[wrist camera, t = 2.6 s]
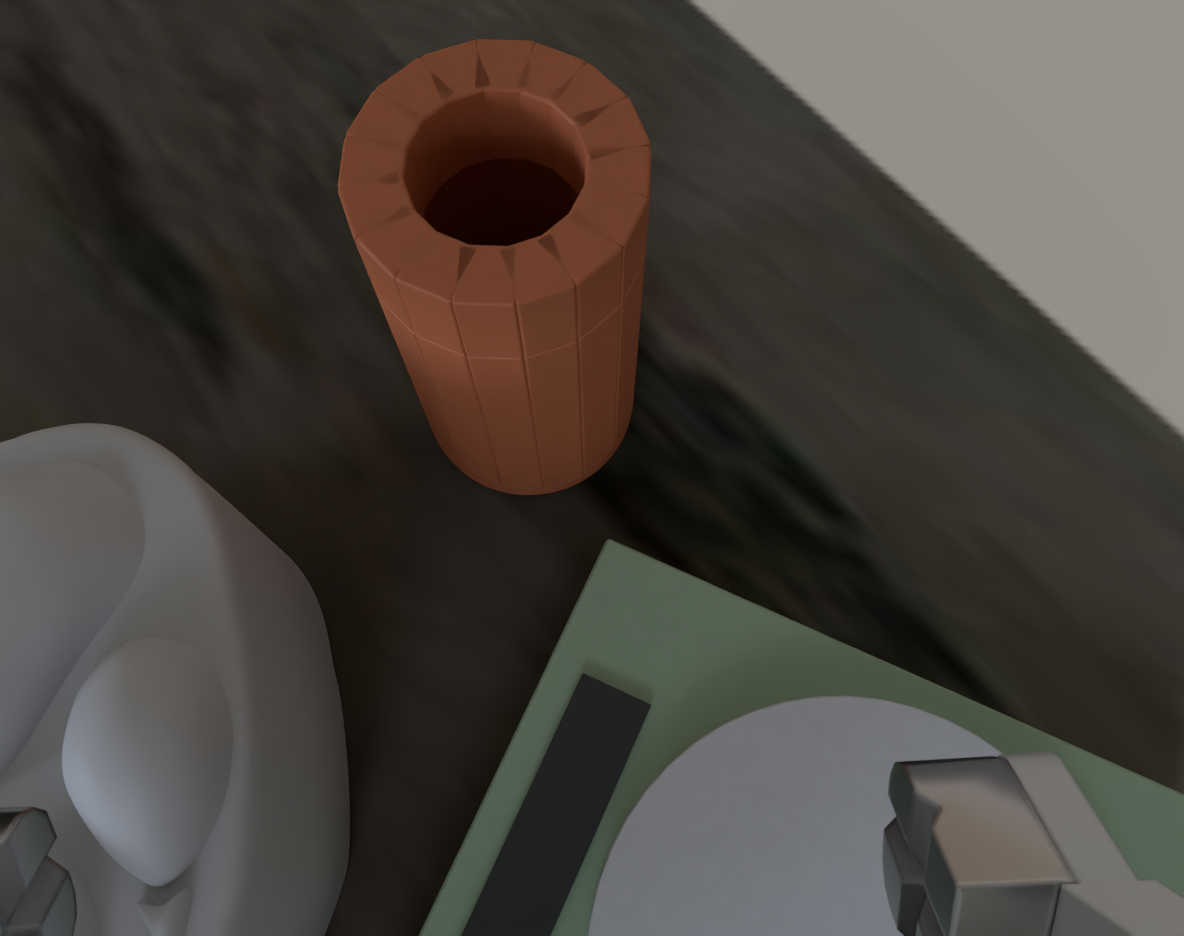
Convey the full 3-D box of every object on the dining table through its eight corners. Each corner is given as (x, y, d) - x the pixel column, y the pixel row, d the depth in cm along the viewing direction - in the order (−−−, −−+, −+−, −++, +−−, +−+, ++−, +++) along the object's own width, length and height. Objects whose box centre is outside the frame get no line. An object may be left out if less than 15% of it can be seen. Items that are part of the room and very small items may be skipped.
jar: (664, 353, 28) (699, 101, 18) (580, 529, 26) (569, 353, 17) (485, 279, 28) (429, -1, 19) (392, 445, 27) (280, 231, 17)
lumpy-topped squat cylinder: (321, 507, 26) (195, 357, 18) (381, 1098, 22) (252, 1254, 14) (-108, 581, 26) (-440, 461, 17) (-131, 1201, 21) (-583, 1428, 13)
